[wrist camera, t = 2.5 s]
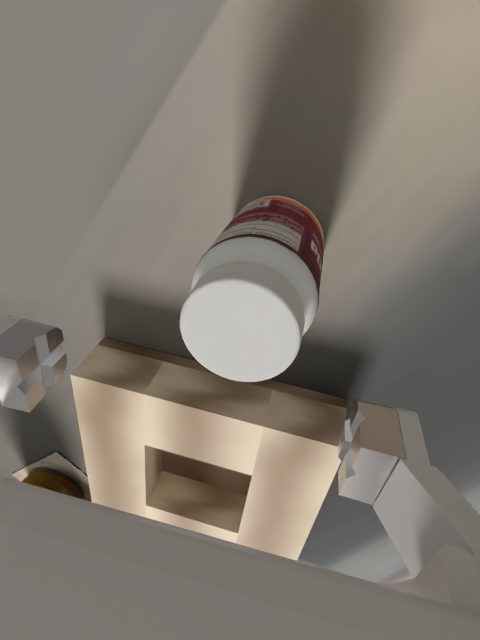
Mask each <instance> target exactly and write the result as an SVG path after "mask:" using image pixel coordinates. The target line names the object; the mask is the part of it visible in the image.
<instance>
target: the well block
mask: <svg viewBox="0 0 480 640" xmlns="http://www.w3.org/2000/svg"><path fill="white" fill-rule="evenodd" d="M71 380H72V386H73V392H74V398H75V404H76V410H77V416H78V422H79V428H80V434H81V440H82V446H83V452H84V458H85V464H86V470H87V476H88V482H89V488H90V494H91V499H92V502H93V503H97V504H100V505H104V506H107V507H111V508H114V509H118V510H121V511H125V512H128V513H132V514H135V515H139V516H142V517H146V518H149V519H153V520H156V521H160V522H163V523H167V524H170V525H174V526H177V527H181V528H184V529H188V530H191V531H195V532H198V533H202V534H205V535H209V536H212V537H216V538H219V539H223V540H226V541H230V542H233V543H237V544H240V545H244V546H247V547H251V548H254V549H258V550H261V551H265V552H268V553H272V554H275V555H279V556H282V557H286V558H289V559H293V560H296V561H297V559H298V557H299V555H300V552H301V550H302V548H303V546H304V543H305V541H306V539H307V537H308V534H309V532H310V530H311V528H312V525H313V523H314V521H315V519H316V516H317V514H318V512H319V510H320V507H321V505H322V503H323V501H324V498H325V496H326V494H327V492H328V489H329V487H330V485H331V483H332V480H333V478H334V476H335V474H336V472H337V469H338V467H339V465H340V463H341V460H340V458H339V457H338V446H339V438H340V434H341V430H342V427H343V424H344V422H345V421H346V399H344V398H340V397H336V396H332V395H328V394H325V393H321V392H317V391H313V390H309V389H305V388H301V387H297V386H293V385H289V384H285V383H281V382H277V381H273V380H269V379H267V380H263V381H257V382H242V381H235V380H230V379H227V378H224V377H222V376H219V375H217V374H215V373H213V372H212V371H210V370H208V369H207V368H205V367H204V366H203V365H201V364H200V363H199V362H198V361H195V360H191V359H187V358H183V357H179V356H175V355H171V354H167V353H163V352H159V351H155V350H151V349H147V348H143V347H139V346H135V345H131V344H128V343H124V342H120V341H116V340H112V339H108V338H104V339H103V340H102V341H101V342H100V343H99V344H98V345H97V346H96V347H95V348H94V350H93V351H92V352H91V353H90V354H89V355H88V356H87V357H86V358H85V359H84V361H83V362H82V363H81V364H80V365H79V366H78V367H77V368H76V369H75V370H74V371H73V373H72V374H71Z"/></svg>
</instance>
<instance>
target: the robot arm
mask: <svg viewBox="0 0 480 640" xmlns="http://www.w3.org/2000/svg"><path fill="white" fill-rule="evenodd" d="M63 341H64V339H63V334H62V330H60V329H59V328H57V327H53V326H49V325H46V324H42V323H38V322H34V321H30V320H27V319H21V318H17V317H14V316H10V315H9V316H3V317H2V318H0V406H4V407H8V408H12V409H16V410H21V411H25V412H29V413H30V412H31V410H32V409H33V408H34V407H35V406H36V405H37V404H38V403H39V402H40V401H41V400H42V398H43V397H44V396H45V388H48V387H50V386H52V385H55V384H56V383H57V382H58V381H59V379H60V378H61V377H62V375H63V373H64V371H65V368H66V363H67V357H66V352H65V351H64V350H63V349H62V347H61V346H60V344H61V343H62V342H63ZM338 457H339V458H340V460H341V461H342V464H341V466H340V469H339V471H338V481H339V495H341V496H344V497H348V498H351V499H355V500H358V501H361V502H365V503H368V504H372V505H373V508H374V510H375V512H376V513H377V515H378V517H379V519H380V520H381V522H382V524H383V526H384V528H385V529H386V531H387V533H388V535H389V537H390V538H391V540H392V542H393V544H394V545H395V547H396V549H397V551H398V553H399V554H400V556H401V558H402V560H403V561H404V563H405V565H406V567H407V569H408V570H409V572H410V574H411V576H412V577H413V579H414V580H413V581H412V582H411V583H410V584H409V585H408V587H407V588H406V589H405V590H404V591H401V590H397V589H394V588H390V587H387V586H383V585H380V584H376V583H373V582H369V581H366V580H362V579H359V578H355V577H352V576H349V575H345V574H342V573H338V572H335V571H331V570H328V569H324V568H320V567H317V566H313V565H310V564H307V563H303V562H299V561H296V560H293V559H289V558H286V557H282V556H279V555H275V554H272V553H268V552H265V551H261V550H258V549H254V548H251V547H247V546H244V545H240V544H237V543H233V542H230V541H226V540H223V539H219V538H216V537H212V536H209V535H205V534H202V533H198V532H195V531H191V530H188V529H184V528H181V527H177V526H174V525H170V524H167V523H163V522H160V521H156V520H153V519H149V518H146V517H142V516H139V515H135V514H132V513H128V512H125V511H121V510H118V509H114V508H111V507H107V506H104V505H100V504H97V503H93V502H90V501H86V500H83V499H79V498H76V497H72V496H69V495H65V494H62V493H58V492H55V491H52V490H48V489H45V488H41V487H38V486H34V485H31V484H27V483H24V482H20V481H17V480H13V479H10V478H6V477H3V476H0V640H480V515H479V514H478V513H477V512H476V510H475V509H474V508H473V507H472V506H471V505H470V504H469V503H468V502H467V500H466V499H465V498H464V497H463V496H462V495H461V494H460V493H459V492H458V490H457V489H456V488H455V487H454V486H453V485H452V484H451V483H450V482H449V480H448V479H447V478H446V477H445V476H444V475H443V474H442V473H441V472H440V470H439V469H438V468H436V467H432V466H431V465H430V461H429V457H428V453H427V449H426V445H425V441H424V437H423V433H422V430H421V426H420V422H419V418H418V415H417V414H416V413H415V412H412V411H407V410H403V409H398V408H392V407H388V406H384V405H379V404H375V403H371V402H366V401H362V400H358V399H355V400H354V401H353V403H352V405H351V407H350V419H348V420H346V421H345V422H344V424H343V427H342V430H341V434H340V438H339V446H338Z"/></svg>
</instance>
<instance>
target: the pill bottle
mask: <svg viewBox="0 0 480 640" xmlns="http://www.w3.org/2000/svg"><path fill="white" fill-rule="evenodd" d="M323 252H324V236H323V231H322V227H321V225H320V223H319V221H318V219H317V218H316V216H315V215H314V214H313V212H312V211H311V210H310V209H309V208H307V207H306V206H305V205H303V204H302V203H300V202H299V201H296V200H294V199H292V198H289V197H285V196H279V195H272V196H265V197H261V198H258V199H256V200H254V201H252V202H250V203H248V204H247V205H246V206H244V207H243V208H242V209H241V210H240V211H239V212H238V213H237V215H236V216H235V217H234V218H233V220H232V221H231V222H230V223H229V225H228V226H227V227H226V228H225V229H224V231H223V232H222V233H221V235H220V236H219V237H218V238H217V239H216V241H215V242H214V243H213V245H212V246H211V247H210V248H209V250H208V251H207V252H206V253H205V254H204V255H203V256H202V258H201V259H200V261H199V262H198V264H197V266H196V269H195V272H194V275H193V279H192V287H191V292H190V294H189V295H188V297H187V298H186V300H185V302H184V304H183V307H182V310H181V315H180V330H181V334H182V338H183V340H184V343H185V345H186V347H187V348H188V350H189V351H190V353H191V354H192V355H193V357H194V358H195V359H196V360H197V361H198V362H199V363H200V364H201V365H203V366H204V367H205V368H207V369H208V370H210V371H212V372H213V373H215V374H217V375H219V376H222V377H224V378H227V379H230V380H235V381H242V382H257V381H263V380H267V379H270V378H272V377H275V376H277V375H278V374H280V373H282V372H283V371H284V370H286V369H287V368H288V367H289V366H290V365H291V363H292V362H293V360H294V359H295V357H296V356H297V354H298V351H299V348H300V344H301V340H302V336H303V335H304V334H305V332H306V331H307V330H308V329H309V327H310V325H311V324H312V322H313V319H314V317H315V314H316V312H317V309H318V303H319V288H320V280H321V273H322V264H323Z"/></svg>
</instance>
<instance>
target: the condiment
mask: <svg viewBox="0 0 480 640" xmlns="http://www.w3.org/2000/svg"><path fill="white" fill-rule="evenodd" d="M58 469H59V470H61V471H59V470H58ZM62 470H65V471H66V472H64V471H62ZM12 475H13V476H14V477H16V478H17V479H18V480H20V481H21V482H24V483H27V484H31V485H34V486H38V487H41V488H45V489H48V490H52V491H55V492H58V493H62V494H65V495H69V496H72V497H76V498H79V499H83V500H86V501H90V502H92V499H91V494H90V488H89V482H88V477H87V476H86V475H85V474H84V473H83V471H81V470H79V469H77V468H76V467H75V466H73V465H72V464H71V463H70V462H69V461H68V460H66V459H65V458H63V457H62V456H61V455H60V454H59V453H57V452H55V453H53V454H51V455H49V456H47V457H46V458H43V459H41V460H40V461H37V462H35V463H33V464H31V465H29V466H27V467H25V468H23V469H21V470H19V471H17V472H15V473H14V474H12Z"/></svg>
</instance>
